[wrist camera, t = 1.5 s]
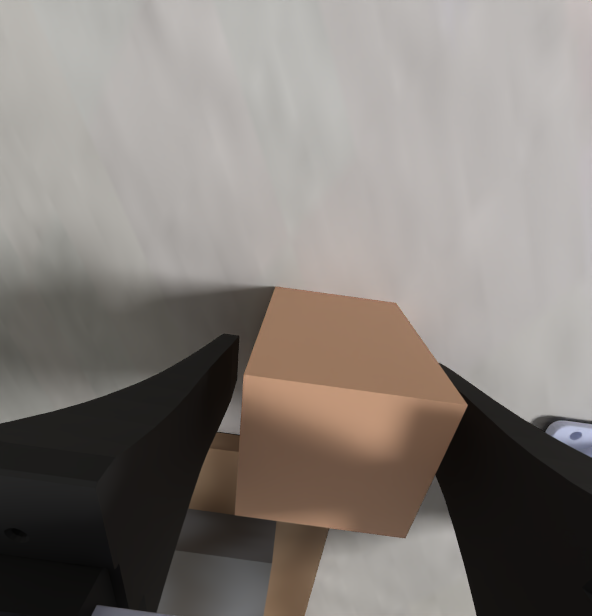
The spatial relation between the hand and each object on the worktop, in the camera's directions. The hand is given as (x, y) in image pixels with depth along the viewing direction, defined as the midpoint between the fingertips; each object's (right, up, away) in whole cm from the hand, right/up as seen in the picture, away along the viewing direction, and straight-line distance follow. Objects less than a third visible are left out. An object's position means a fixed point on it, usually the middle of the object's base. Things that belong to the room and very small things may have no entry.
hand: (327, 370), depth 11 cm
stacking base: (-7, -12, +8) cm, 16 cm away
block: (0, +1, +2) cm, 2 cm away
